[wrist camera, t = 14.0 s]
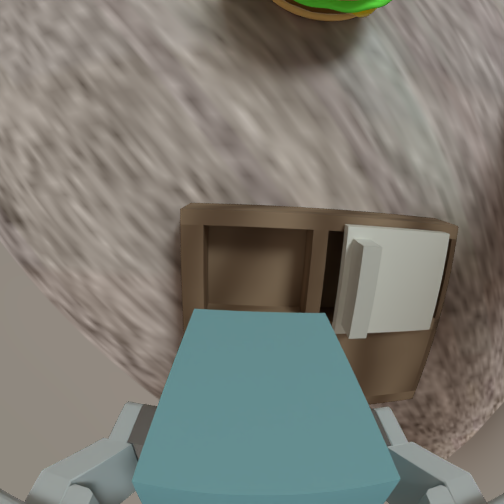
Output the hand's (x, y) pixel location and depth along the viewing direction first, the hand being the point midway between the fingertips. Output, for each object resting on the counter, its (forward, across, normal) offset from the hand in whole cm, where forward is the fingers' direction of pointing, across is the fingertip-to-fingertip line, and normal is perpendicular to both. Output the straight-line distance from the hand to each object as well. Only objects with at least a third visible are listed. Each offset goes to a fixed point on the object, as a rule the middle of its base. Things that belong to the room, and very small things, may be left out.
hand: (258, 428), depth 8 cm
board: (+17, -5, +4) cm, 18 cm away
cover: (+13, -10, 0) cm, 16 cm away
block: (+3, 0, 0) cm, 3 cm away
